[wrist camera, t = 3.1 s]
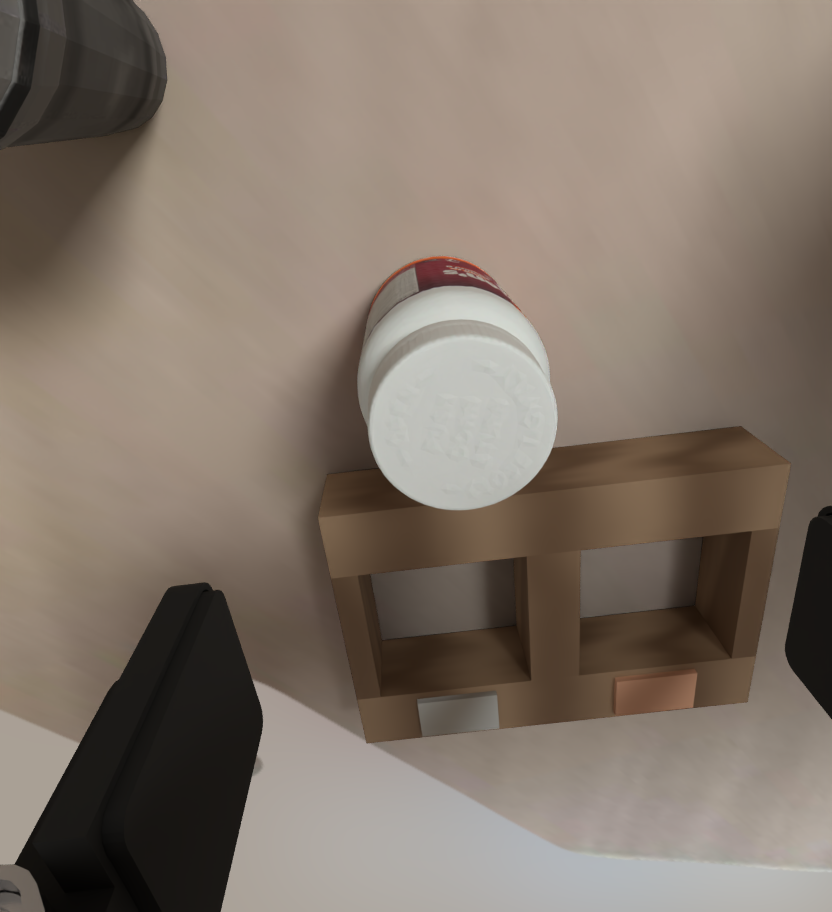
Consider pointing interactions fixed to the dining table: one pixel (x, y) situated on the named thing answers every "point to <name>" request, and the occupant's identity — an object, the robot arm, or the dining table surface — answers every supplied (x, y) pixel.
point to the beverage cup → (76, 69)
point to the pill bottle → (454, 386)
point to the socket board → (563, 586)
